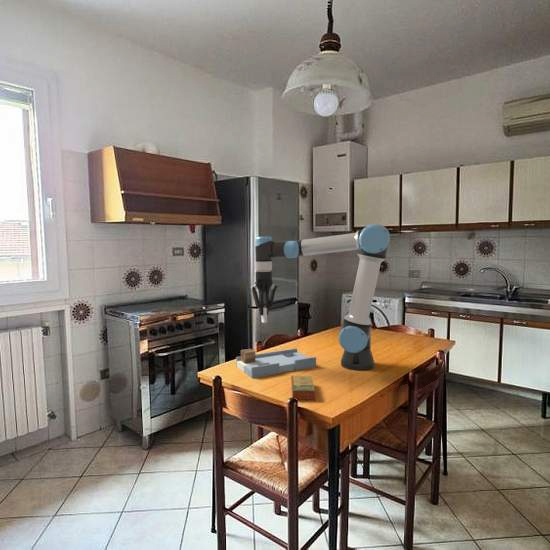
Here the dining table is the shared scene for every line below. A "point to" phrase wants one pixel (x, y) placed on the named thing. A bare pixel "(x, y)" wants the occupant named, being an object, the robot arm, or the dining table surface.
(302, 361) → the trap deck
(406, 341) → the dining table surface
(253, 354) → the block
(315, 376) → the dining table surface
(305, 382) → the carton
